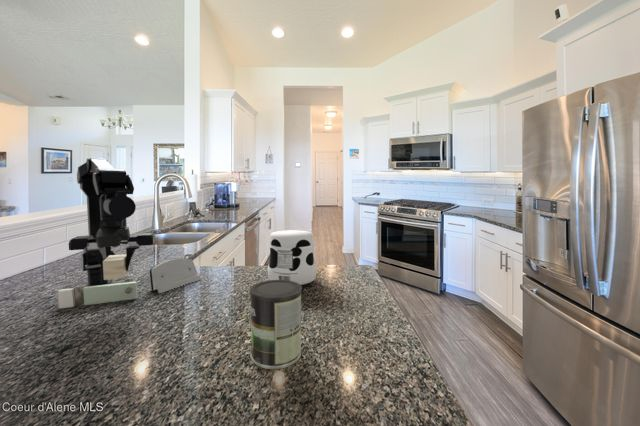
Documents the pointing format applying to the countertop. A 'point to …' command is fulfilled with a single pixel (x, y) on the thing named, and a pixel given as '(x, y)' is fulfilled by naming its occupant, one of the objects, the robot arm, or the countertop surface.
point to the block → (114, 267)
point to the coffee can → (275, 323)
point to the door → (110, 293)
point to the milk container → (292, 256)
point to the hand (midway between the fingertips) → (116, 271)
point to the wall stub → (66, 298)
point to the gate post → (78, 295)
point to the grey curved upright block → (172, 274)
